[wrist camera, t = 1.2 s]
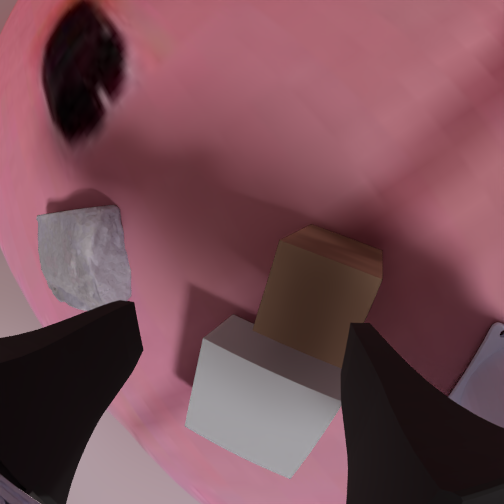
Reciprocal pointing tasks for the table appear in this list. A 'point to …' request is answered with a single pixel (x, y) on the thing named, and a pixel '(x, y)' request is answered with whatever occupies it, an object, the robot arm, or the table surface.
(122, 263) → the stone block
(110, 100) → the table surface
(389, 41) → the table surface
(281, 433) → the plinth
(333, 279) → the walnut block
